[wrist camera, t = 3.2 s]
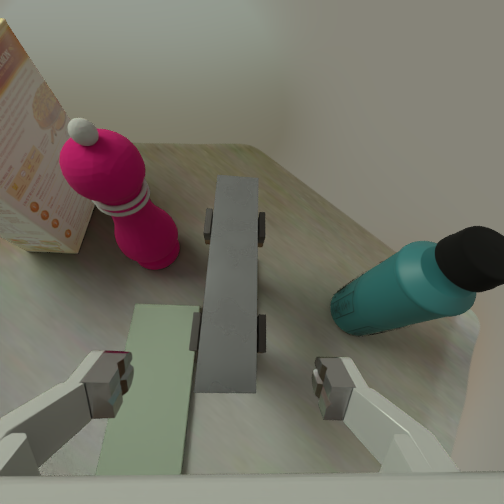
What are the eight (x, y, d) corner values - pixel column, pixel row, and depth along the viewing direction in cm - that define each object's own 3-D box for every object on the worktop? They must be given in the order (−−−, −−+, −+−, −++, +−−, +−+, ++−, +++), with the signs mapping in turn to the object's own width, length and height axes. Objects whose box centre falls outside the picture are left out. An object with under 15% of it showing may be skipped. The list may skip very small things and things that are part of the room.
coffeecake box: (62, 170, 38) (-80, 5, 20) (108, 173, 39) (8, 15, 21) (24, 252, 32) (-231, 116, 14) (79, 255, 32) (-99, 127, 15)
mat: (97, 478, 23) (93, 482, 22) (137, 305, 30) (135, 303, 29) (181, 477, 23) (179, 481, 23) (200, 307, 31) (199, 306, 30)
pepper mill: (142, 224, 35) (53, 79, 17) (189, 233, 35) (149, 99, 17) (122, 267, 32) (-14, 146, 14) (173, 278, 32) (104, 171, 14)
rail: (199, 387, 16) (193, 392, 13) (218, 197, 23) (217, 174, 20) (251, 387, 16) (256, 393, 13) (254, 199, 23) (258, 178, 20)
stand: (201, 371, 28) (178, 379, 15) (213, 256, 34) (204, 192, 21) (252, 372, 28) (272, 381, 15) (254, 258, 34) (269, 197, 22)
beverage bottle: (359, 348, 30) (552, 329, 12) (315, 319, 31) (432, 262, 13) (376, 307, 33) (555, 241, 15) (334, 281, 34) (454, 191, 16)
